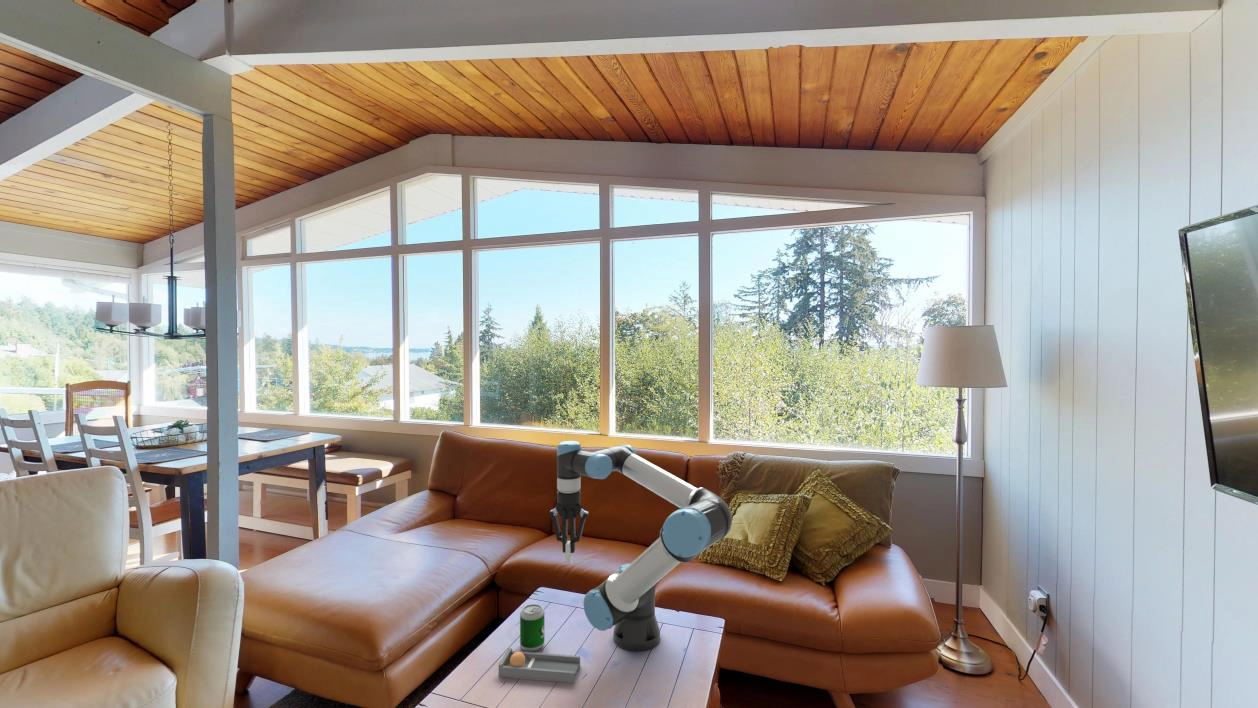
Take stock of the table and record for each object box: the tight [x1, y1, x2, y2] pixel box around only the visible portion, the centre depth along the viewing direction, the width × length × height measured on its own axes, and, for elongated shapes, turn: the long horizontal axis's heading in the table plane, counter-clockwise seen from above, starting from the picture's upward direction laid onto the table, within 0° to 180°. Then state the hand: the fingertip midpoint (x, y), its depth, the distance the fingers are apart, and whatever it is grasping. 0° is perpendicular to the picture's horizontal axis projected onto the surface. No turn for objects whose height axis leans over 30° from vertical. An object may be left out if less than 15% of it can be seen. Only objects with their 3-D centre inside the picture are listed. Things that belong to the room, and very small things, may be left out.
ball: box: [510, 652, 525, 667], centre depth 157 cm, size 4×4×4 cm
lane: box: [498, 647, 581, 684], centre depth 157 cm, size 22×8×4 cm, turn 83°
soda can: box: [519, 603, 545, 653], centre depth 169 cm, size 8×8×12 cm
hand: (568, 562), depth 175 cm, fingers closed
